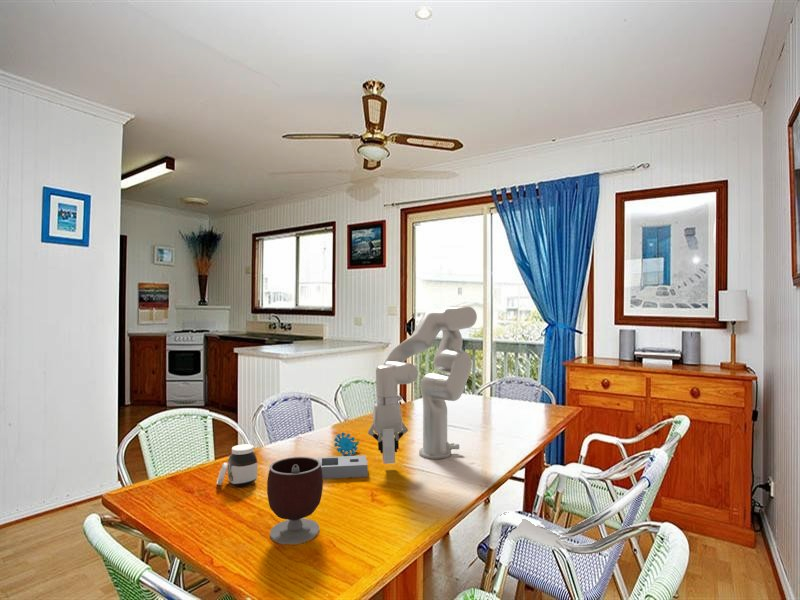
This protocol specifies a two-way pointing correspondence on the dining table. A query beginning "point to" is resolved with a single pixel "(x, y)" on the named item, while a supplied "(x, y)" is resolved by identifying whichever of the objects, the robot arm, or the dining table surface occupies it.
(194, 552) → the dining table surface
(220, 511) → the dining table surface
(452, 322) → the robot arm
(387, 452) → the skincare box
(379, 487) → the dining table surface
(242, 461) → the spread jar
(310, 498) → the mate gourd
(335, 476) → the stand
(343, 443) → the gear
